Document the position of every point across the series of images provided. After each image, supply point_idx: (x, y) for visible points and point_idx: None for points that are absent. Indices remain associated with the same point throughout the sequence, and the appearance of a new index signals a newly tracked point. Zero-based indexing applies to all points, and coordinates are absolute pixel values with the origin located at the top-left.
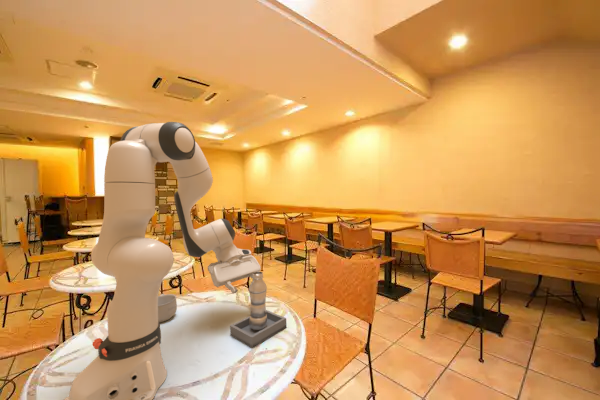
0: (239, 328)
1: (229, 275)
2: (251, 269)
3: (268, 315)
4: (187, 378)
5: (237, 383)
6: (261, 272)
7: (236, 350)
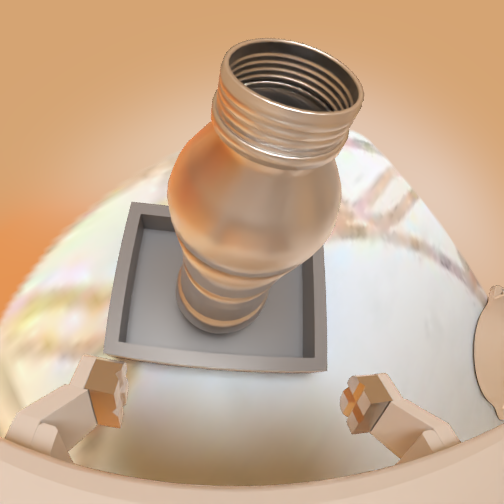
0: (316, 315)
1: (465, 482)
2: (23, 486)
3: (125, 311)
4: (453, 289)
5: (393, 191)
6: (228, 61)
7: (345, 278)
